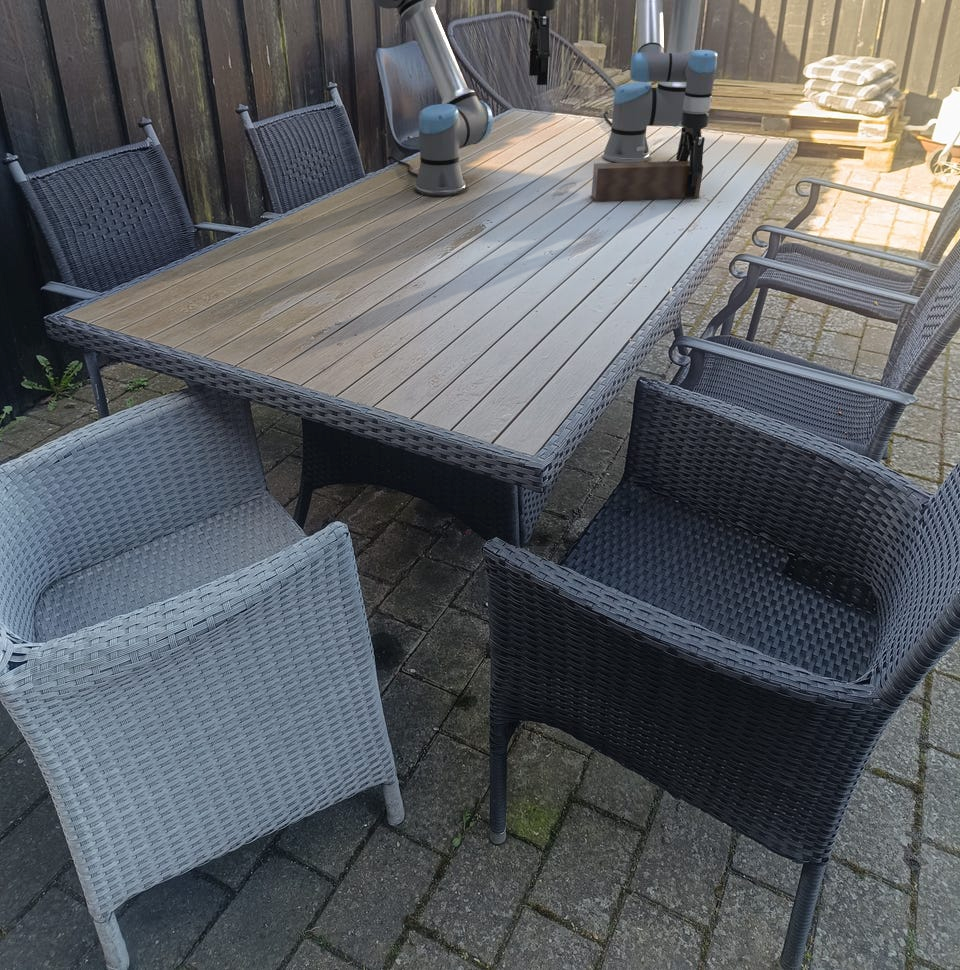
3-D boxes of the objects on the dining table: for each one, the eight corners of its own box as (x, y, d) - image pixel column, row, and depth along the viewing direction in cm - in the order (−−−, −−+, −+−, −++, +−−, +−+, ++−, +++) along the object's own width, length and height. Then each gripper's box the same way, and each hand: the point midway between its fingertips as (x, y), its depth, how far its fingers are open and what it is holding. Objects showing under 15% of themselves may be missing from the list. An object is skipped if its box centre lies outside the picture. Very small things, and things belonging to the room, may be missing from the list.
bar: (595, 201, 249) (597, 168, 243) (591, 196, 253) (593, 163, 248) (698, 198, 252) (703, 165, 246) (693, 192, 256) (697, 160, 251)
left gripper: (563, -3, 214) (559, 88, 226) (546, -13, 234) (543, 71, 246) (534, -2, 213) (531, 89, 226) (520, -12, 233) (518, 72, 246)
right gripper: (721, 119, 231) (708, 202, 244) (696, 103, 249) (685, 180, 262) (695, 120, 231) (683, 203, 244) (672, 103, 248) (662, 181, 261)
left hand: (537, 80), depth 236 cm, fingers open, 13 cm apart
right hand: (684, 191), depth 253 cm, fingers open, 9 cm apart
